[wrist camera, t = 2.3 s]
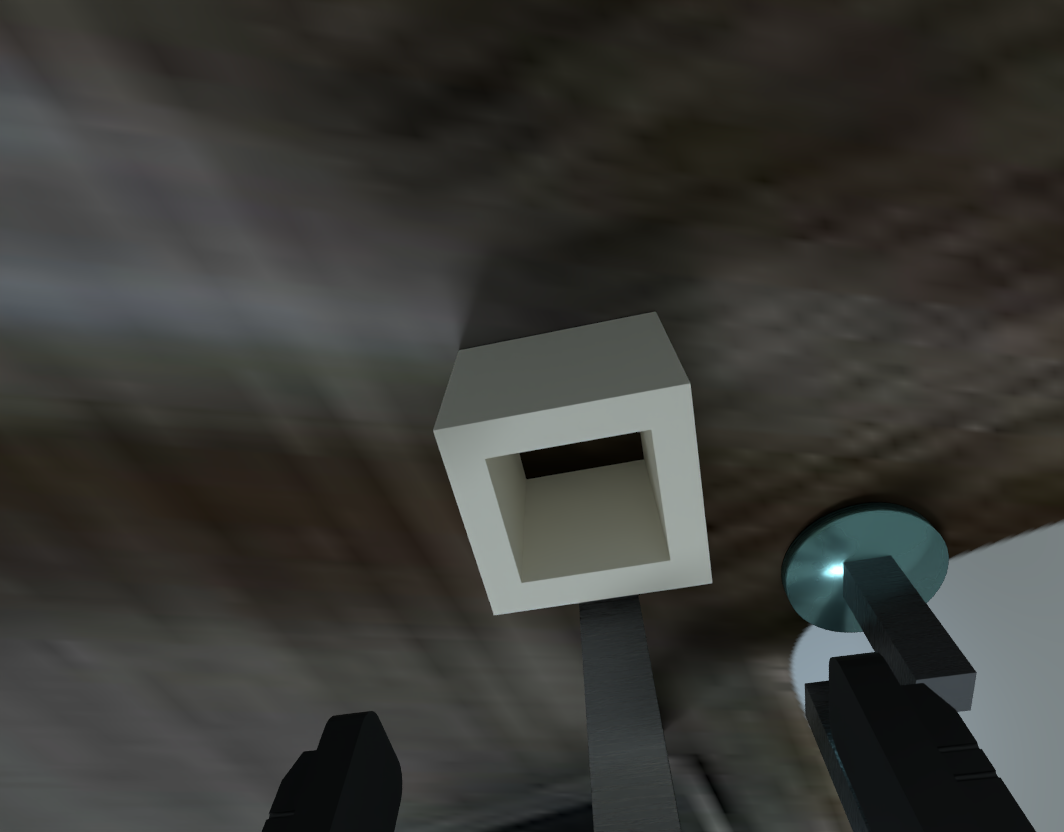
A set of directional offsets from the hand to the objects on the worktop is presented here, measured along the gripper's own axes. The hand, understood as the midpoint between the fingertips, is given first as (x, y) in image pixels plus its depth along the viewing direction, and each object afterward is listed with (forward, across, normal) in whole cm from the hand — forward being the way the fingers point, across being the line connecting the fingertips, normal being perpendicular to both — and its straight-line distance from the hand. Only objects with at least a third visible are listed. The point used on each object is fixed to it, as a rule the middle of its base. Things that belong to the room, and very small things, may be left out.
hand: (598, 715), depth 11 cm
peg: (+11, -9, +7) cm, 16 cm away
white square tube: (+10, 0, -1) cm, 11 cm away
